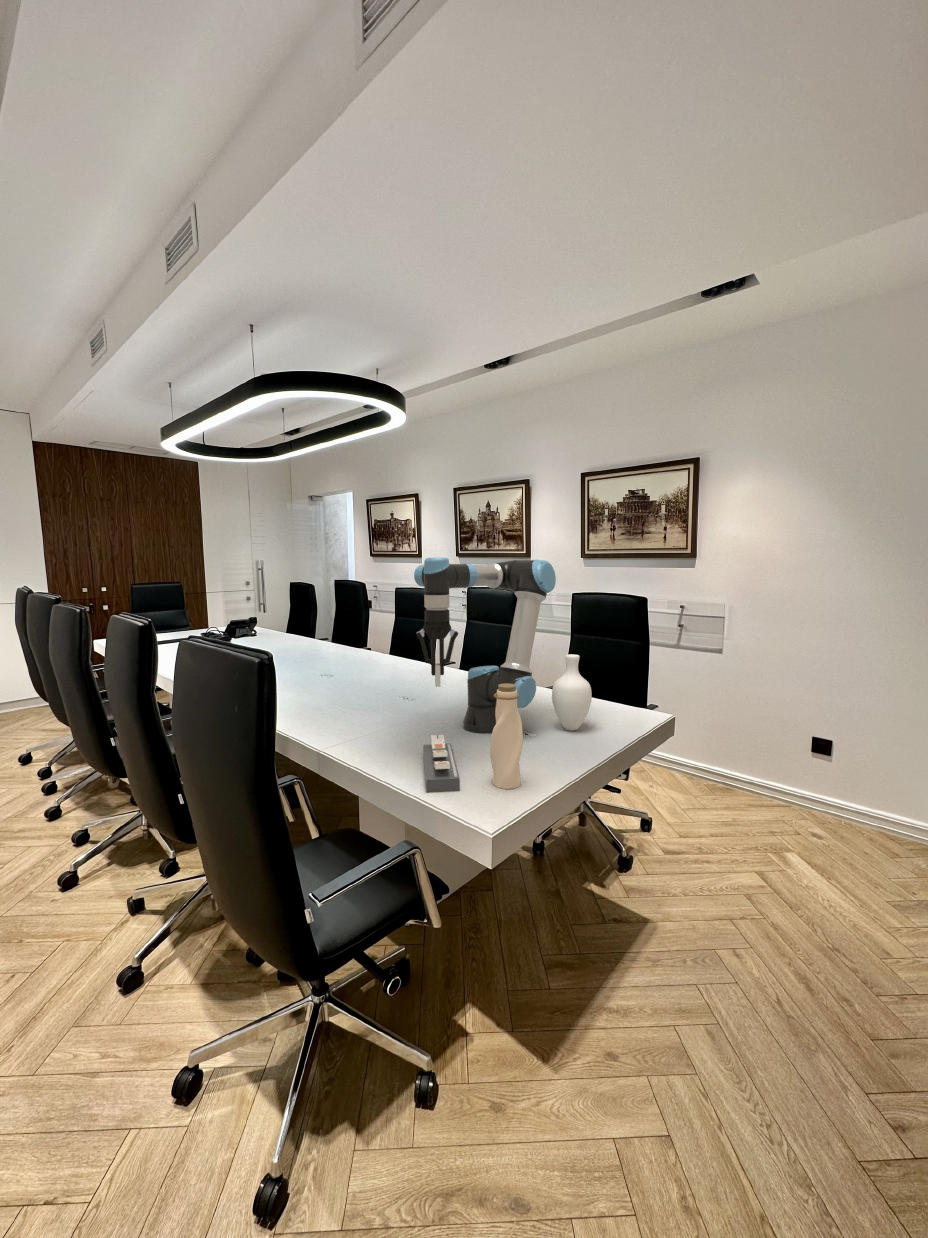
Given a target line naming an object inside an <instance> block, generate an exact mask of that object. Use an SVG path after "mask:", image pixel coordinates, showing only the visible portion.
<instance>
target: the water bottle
mask: <svg viewBox="0 0 928 1238" xmlns="http://www.w3.org/2000/svg"><path fill="white" fill-rule="evenodd" d="M496 695H497V696H496ZM494 697H495V698H497V702H496V710H495V716H496V725H495V727H494V729H493V732H491V736H490V747H489V752H490V753H489V755H490V764H491V768H492V773H493V775H492V776H493V779H492V783H493V785H494V786H495V787H496V788H498V789H503V790H513V789H516V788H519V787H520V786H521V768H520V759H521V756H522V752H523V751H522V750H523V743H524V735H523V734H524V733H523V723H522V718H521V715H520V712H519V710H518V709H519V708H517V698H519V694H518V693H517V690H516V685H515V684H508V683H505V684H499V685H498V690H497V693H495V694H494Z"/></svg>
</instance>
